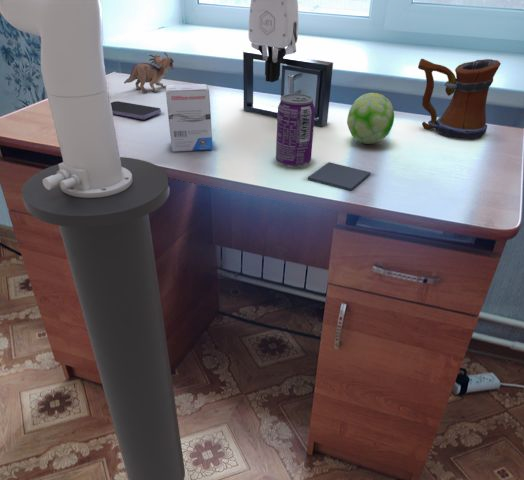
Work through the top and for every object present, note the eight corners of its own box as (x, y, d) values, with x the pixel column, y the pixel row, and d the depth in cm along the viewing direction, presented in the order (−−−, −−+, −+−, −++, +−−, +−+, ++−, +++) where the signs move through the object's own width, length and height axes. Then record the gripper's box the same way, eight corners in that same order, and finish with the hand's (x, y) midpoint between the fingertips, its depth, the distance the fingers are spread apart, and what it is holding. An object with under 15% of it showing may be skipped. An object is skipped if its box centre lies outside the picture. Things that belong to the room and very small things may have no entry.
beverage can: (313, 157, 104) (318, 94, 96) (307, 170, 99) (312, 105, 91) (279, 154, 105) (282, 91, 97) (272, 166, 100) (274, 101, 92)
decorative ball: (340, 135, 114) (345, 87, 108) (382, 134, 115) (391, 87, 108) (350, 151, 107) (356, 100, 100) (395, 150, 108) (405, 100, 101)
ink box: (210, 142, 110) (207, 82, 102) (212, 150, 106) (209, 89, 98) (170, 143, 108) (164, 83, 100) (171, 152, 105) (165, 90, 97)
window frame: (321, 127, 118) (327, 65, 110) (243, 110, 127) (243, 51, 118) (327, 123, 120) (333, 62, 112) (249, 107, 129) (250, 49, 120)
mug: (405, 135, 115) (420, 61, 105) (406, 119, 123) (419, 50, 114) (487, 143, 112) (510, 67, 102) (482, 126, 121) (503, 55, 111)
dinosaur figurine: (175, 86, 142) (172, 49, 136) (176, 92, 138) (173, 53, 132) (125, 87, 140) (120, 49, 134) (125, 93, 136) (119, 54, 130)
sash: (306, 124, 115) (309, 76, 108) (269, 116, 119) (270, 69, 112) (318, 117, 119) (322, 71, 112) (281, 109, 122) (283, 64, 116)
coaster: (351, 191, 92) (351, 188, 92) (307, 179, 95) (307, 177, 95) (370, 174, 98) (370, 172, 97) (328, 164, 101) (328, 162, 101)
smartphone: (116, 100, 129) (162, 108, 123) (116, 105, 129) (163, 113, 124) (95, 107, 124) (143, 116, 118) (96, 112, 124) (143, 121, 119)
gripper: (234, -22, 102) (235, 78, 114) (299, -16, 96) (292, 89, 108) (254, -24, 107) (253, 72, 119) (317, -18, 101) (309, 82, 113)
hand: (272, 80), depth 114 cm, fingers closed
